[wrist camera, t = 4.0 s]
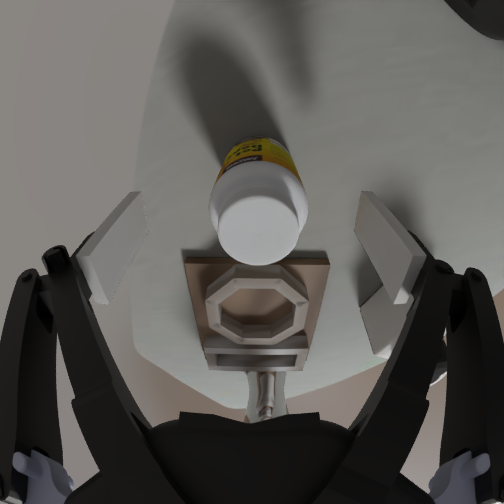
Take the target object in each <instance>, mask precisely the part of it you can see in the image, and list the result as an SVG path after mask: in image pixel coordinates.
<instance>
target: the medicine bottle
mask: <svg viewBox="0 0 504 504" xmlns="http://www.w3.org/2000/svg"><path fill="white" fill-rule="evenodd" d="M413 301H414V298H413V296H412V294H410V296H409V299H408V301H407V303H403V304H393V303H392V301H391V299H390V297H389V295H388V293H387V291H386V289H385V287H384V285H383V286H382V287H381V288H380V289H379V290H378V291H377V292H376V293H375V294H374V295H373V296H372V297H371V298H370V299H369V300H368V301H367V302H366V303H365V304H363V305H362V306H361V307H360V312H361V315H362V318H363V321H364V325H365V328H366V331H367V334H368V337H369V340H370V344H371V347H372V350H373V354H374V355H375V356H378V357H382V358H386V359H389V357H390V355H391V353H392V351H393V348H394V346H395V344H396V342H397V339H398V337H399V335H400V332H401V330H402V328H403V325H404V323H405V320H406V318H407V317H406V315H407V313H408V311H409V309H410V307H411V305H412V303H413ZM445 335H446V329H445V333H444V336H445ZM446 373H447V346H446V344H445V342H444V339H443V342H442V346H441V350H440V353H439V357H438V361H437V364H436V368H435V371H434V374H433V377H432V381H431V384H430V386H431V385H433V384H435V383H436V382H438V381H439V380H440V379H442V378H443V377H444V376H445V375H446Z"/></svg>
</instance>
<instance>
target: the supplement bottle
mask: <svg viewBox="0 0 504 504" xmlns="http://www.w3.org/2000/svg"><path fill="white" fill-rule="evenodd" d="M209 214H210V219H211V222H212V224H213V226H214V228H215V230H216V231H217V233H218V238H219V241H220V244H221V246H222V247H223V249H224V250H225V251H226V252H227V253H228V254H229V255H230V256H231V257H232V258H234V259H236V260H237V261H240V262H242V263H245V264H249V265H267V264H271V263H274V262H277V261H279V260H281V259H283V258H284V257H285V256H287V255H288V254H289V253H290V252H291V251H292V250H293V248H294V247H295V245H296V243H297V240H298V237H299V233H300V232H301V230H302V228H303V227H304V225H305V222H306V219H307V215H308V200H307V196H306V192H305V189H304V187H303V184H302V182H301V179H300V177H299V174H298V172H297V169H296V167H295V164H294V162H293V159H292V157H291V155H290V153H289V152H288V150H287V149H286V148H285V147H284V146H283V145H282V144H281V143H279V142H278V141H276V140H274V139H271V138H268V137H262V136H255V137H250V138H246V139H244V140H242V141H240V142H239V143H237V144H236V145H235V146H234V147H233V148H232V149H231V150H230V151H229V153H228V155H227V157H226V159H225V161H224V163H223V166H222V168H221V170H220V173H219V175H218V177H217V180H216V182H215V185H214V187H213V189H212V192H211V196H210V200H209Z"/></svg>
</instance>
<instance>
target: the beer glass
mask: <svg viewBox="0 0 504 504" xmlns="http://www.w3.org/2000/svg"><path fill="white" fill-rule="evenodd" d="M247 378H248V383H249V400H248V405H247V409H246V413H245V417H244V423H255V422H259V421H263V420H267V419H271V418H275V417H279V416H282V415H287V414H289V412H288V408H287V404H286V400H285V394H284V386H285V379H286V372H285V371H269V372H262V371H248V373H247Z"/></svg>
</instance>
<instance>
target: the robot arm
mask: <svg viewBox="0 0 504 504" xmlns="http://www.w3.org/2000/svg"><path fill="white" fill-rule="evenodd" d="M445 1H446V2H447V3H448V5H449V6H450V7H451V8H452V9H453V10H454V11H455V12H456V13H457V14H458V15H459V16H460V17H461V18H462V19H463V20H464V21H465V22H467V23H468V24H469V25H470V26H471V27H473V28H474V29H475V30H477V31H478V32H480V33H481V34H483V35H485V36H487V37H489V38H492V39H495V40H504V0H445ZM148 232H149V228H148V223H147V218H146V213H145V208H144V203H143V198H142V192H141V191H140V192H130V193H129V194H128V195H127V196H126V197H125V198H124V199H123V201H122V202H121V203H120V204H119V205H118V206H117V207H116V208H115V209H114V210H113V212H112V213H111V214H110V215H109V216H108V217H107V218H106V220H105V221H104V222H103V223H102V224H101V225H100V226H99V228H98V229H97V230H96V231H94V232H93V233H91V234H90V235H88V236H87V237H86V238H85V240H84V241H83V242H82V244H81V245H80V246H79V248H77V249H76V251H75V252H74V253H73V255H72V256H71V257H69V254H68V252H67V249H66V247H65V246H63V245H58V246H55V247H52V248H50V249H49V250H47V251H46V252H45V253H44V255H43V256H42V261H43V264H44V266H45V267H46V270H47V272H48V275H43V276H39V274H38V272H37V270H36V269H28V270H25V271H24V272H23V273H22V274H21V275H20V276H19V277H18V279H17V282H16V285H15V288H14V291H13V294H12V297H11V301H10V304H9V307H8V311H7V315H6V319H5V323H4V327H3V331H2V336H1V341H0V501H2V502H5V503H8V504H500V503H503V502H504V342H503V337H502V332H501V328H500V324H499V320H498V316H497V312H496V308H495V305H494V301H493V298H492V294H491V291H490V288H489V285H488V282H487V279H486V277H485V276H484V274H483V273H482V272H481V271H480V270H478V269H475V268H471V267H470V268H467V269H466V271H465V273H464V275H460V274H456V273H454V270H453V268H452V267H451V266H450V265H449V264H448V263H446V262H444V261H441V260H436V259H434V257H433V256H432V255H431V254H430V252H429V251H428V250H427V248H426V247H424V245H423V243H422V242H421V241H420V240H419V239H418V237H417V236H416V235H415V234H413V233H412V232H410V231H409V230H406V229H405V228H404V227H403V225H402V224H401V223H400V222H399V221H398V220H397V218H396V217H395V216H394V215H393V214H392V213H391V212H390V210H389V209H388V208H387V207H386V206H385V205H384V204H383V203H382V202H381V200H380V199H379V198H378V197H377V196H376V195H375V194H374V193H373V192H368V191H361V195H360V201H359V206H358V212H357V217H356V222H355V227H354V232H355V234H356V235H357V237H358V239H359V241H360V242H361V244H362V246H363V248H364V249H365V251H366V253H367V255H368V257H369V258H370V260H371V262H372V264H373V266H374V268H375V269H376V271H377V273H378V275H379V277H380V279H381V281H382V283H383V285H384V287H385V289H386V291H387V293H388V295H389V297H390V299H391V301H392V303H393V304H403V303H407V301H408V299H409V296H410V294H412V296H413V298H414V301H413V303H412V305H411V307H410V309H409V311H408V313H407V315H406V317H407V318H406V320H405V323H404V325H403V328H402V330H401V332H400V335H399V337H398V339H397V342H396V344H395V346H394V348H393V351H392V353H391V355H390V357H389V359H388V361H387V364H386V366H385V367H384V369H383V371H382V373H381V376H380V377H379V379H378V381H377V383H376V385H375V387H374V389H373V390H372V392H371V394H370V396H369V397H368V399H367V401H366V403H365V404H364V406H363V408H362V409H361V411H360V413H359V414H358V416H357V417H356V419H355V420H354V421H353V423H352V424H351V426H350V427H349V428H348V429H346V428H344V427H342V426H340V425H338V424H336V423H333V422H329V421H324V420H320V416H319V412H316V413H315V412H314V413H302V414H287V415H282V416H279V417H275V418H271V419H267V420H263V421H259V422H255V423H244V422H240V421H236V420H232V419H228V418H225V417H221V416H217V415H214V414H202V413H190V412H180V415H179V419H177V420H172V421H168V422H165V423H162V424H159V425H157V426H156V427H154V428H152V426H151V425H150V423H149V422H148V421H147V420H146V418H145V417H144V415H143V414H142V412H141V410H140V409H139V407H138V405H137V403H136V402H135V400H134V398H133V397H132V394H131V393H130V391H129V389H128V387H127V385H126V383H125V381H124V379H123V378H122V376H121V373H120V371H119V369H118V367H117V365H116V363H115V361H114V359H113V357H112V355H111V353H110V350H109V348H108V346H107V343H106V341H105V339H104V336H103V334H102V332H101V329H100V327H99V324H98V322H97V319H96V317H95V314H94V311H93V309H92V306H91V304H90V302H89V298H90V297H91V295H93V297H94V299H95V302H96V303H100V304H110V302H111V300H112V298H113V296H114V294H115V292H116V290H117V288H118V286H119V284H120V282H121V280H122V278H123V276H124V274H125V272H126V271H127V269H128V267H129V265H130V263H131V262H132V260H133V258H134V256H135V254H136V253H137V251H138V249H139V247H140V246H141V244H142V242H143V240H144V239H145V237H146V235H147V234H148ZM445 329H446V338H447V390H446V407H445V417H444V425H443V433H442V440H441V448H440V463H439V469H438V470H437V471H436V473H435V475H434V477H433V478H432V479H431V480H430V482H429V489H430V490H431V491H430V493H429V494H427V493H426V492H425V491H423V490H422V489H421V488H419V487H418V486H417V485H415V484H414V483H413V482H411V481H410V480H409V479H408V478H406V477H405V476H404V475H402V474H401V473H400V470H401V468H402V466H403V465H404V463H405V461H406V459H407V457H408V455H409V453H410V451H411V448H412V446H413V444H414V442H415V440H416V438H417V435H418V433H419V431H420V428H421V426H422V424H423V421H424V418H425V416H426V413H427V410H428V407H429V401H428V400H426V395H427V392H428V389H429V386H430V384H431V381H432V377H433V374H434V371H435V368H436V364H437V361H438V357H439V353H440V350H441V346H442V342H443V337H444V333H445ZM57 333H58V337H59V342H60V346H61V350H62V354H63V358H64V362H65V365H66V369H67V372H68V376H69V379H70V382H71V385H72V388H73V391H74V394H75V399H73V400H72V402H71V404H72V408H73V411H74V413H75V416H76V419H77V421H78V424H79V427H80V429H81V431H82V434H83V436H84V438H85V441H86V443H87V445H88V447H89V450H90V452H91V454H92V456H93V458H94V460H95V462H96V464H97V466H98V468H99V470H100V471H99V472H98V473H97V474H96V475H94V476H93V477H92V478H90V479H89V480H88V481H86V482H85V483H84V484H83V485H81V486H80V487H79V488H77V489H76V490H74V491H73V492H72V488H73V480H72V479H71V477H70V476H68V474H67V472H66V470H65V469H64V467H63V451H62V444H61V443H62V442H61V435H60V427H59V418H58V408H57V390H56V343H57Z"/></svg>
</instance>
